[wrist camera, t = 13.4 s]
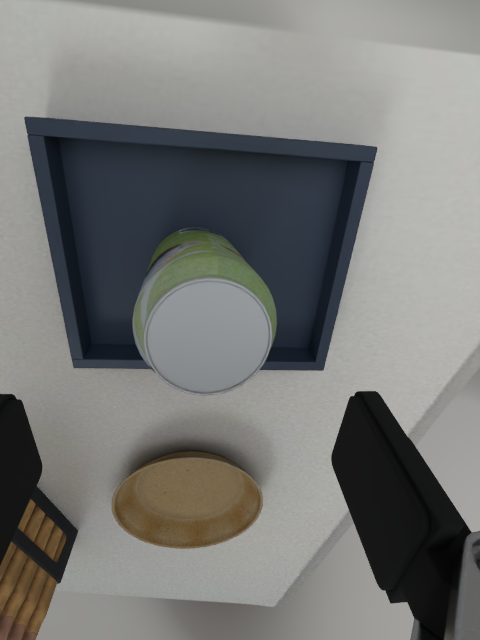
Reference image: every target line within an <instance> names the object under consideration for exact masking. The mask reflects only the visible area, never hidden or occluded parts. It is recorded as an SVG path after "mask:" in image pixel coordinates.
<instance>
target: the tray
mask: <svg viewBox="0 0 480 640" xmlns="http://www.w3.org/2000/svg"><path fill="white" fill-rule="evenodd" d="M24 119H25V124H26V129H27V133H28V134H29V135H28V140H29V145H30V151H31V156H32V161H33V166H34V171H35V176H36V181H37V186H38V191H39V196H40V201H41V206H42V211H43V216H44V221H45V226H46V231H47V236H48V241H49V246H50V252H51V257H52V262H53V267H54V272H55V277H56V282H57V287H58V292H59V297H60V302H61V307H62V312H63V317H64V322H65V327H66V332H67V337H68V342H69V347H70V353H71V358H72V362H73V367H74V368H127V369H151V368H150V367H149V366H148V365H147V363H146V362H145V361H144V359H143V358H142V356H141V355H140V352H139V350H138V348H137V346H136V343H135V339H134V334H133V320H132V319H133V313H134V307H135V304H136V301H137V298H138V296H139V293H140V290H141V287H142V284H143V282H144V279H145V276H146V273H147V270H148V267H149V265H150V262H151V259H152V256H153V254H154V252H155V250H156V248H157V247H158V245H159V244H160V243H161V242H162V241H163V240H164V239H165V238H166V237H167V236H169V235H170V234H172V233H174V232H176V231H178V230H181V229H184V228H190V227H201V228H206V229H210V230H212V231H215V232H217V233H219V234H220V235H222V236H223V237H225V238H226V239H227V240H228V241H229V242H230V243H231V244H232V245H233V247H234V248H235V249H236V250H237V251H238V252H239V253H240V255H241V256H242V257H243V258H244V259H245V260H246V261H247V263H248V264H249V265H250V266H251V267H252V268H253V269H254V271H255V272H256V273H257V274H258V275H259V276H260V277H261V279H262V280H263V281H264V283H265V284H266V286H267V287H268V289H269V291H270V293H271V295H272V297H273V300H274V304H275V308H276V316H277V326H276V333H275V337H274V340H273V344H272V346H271V348H270V351H269V354H268V356H267V358H266V360H265V362H264V364H263V365H262V367H261V368H260V369H259V370H324V366H325V362H326V357H327V353H328V349H329V345H330V341H331V337H332V333H333V329H334V325H335V321H336V316H337V312H338V308H339V304H340V300H341V296H342V292H343V288H344V284H345V280H346V275H347V271H348V267H349V263H350V259H351V255H352V251H353V247H354V243H355V239H356V234H357V230H358V226H359V222H360V218H361V214H362V210H363V206H364V202H365V198H366V193H367V189H368V185H369V181H370V177H371V173H372V169H373V165H374V163H373V162H374V160H375V156H376V152H377V147H372V146H364V145H354V144H343V143H331V142H320V141H308V140H297V139H285V138H273V137H262V136H250V135H239V134H227V133H216V132H204V131H193V130H181V129H169V128H158V127H146V126H135V125H123V124H112V123H100V122H88V121H77V120H65V119H54V118H40V117H25V118H24Z"/></svg>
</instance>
